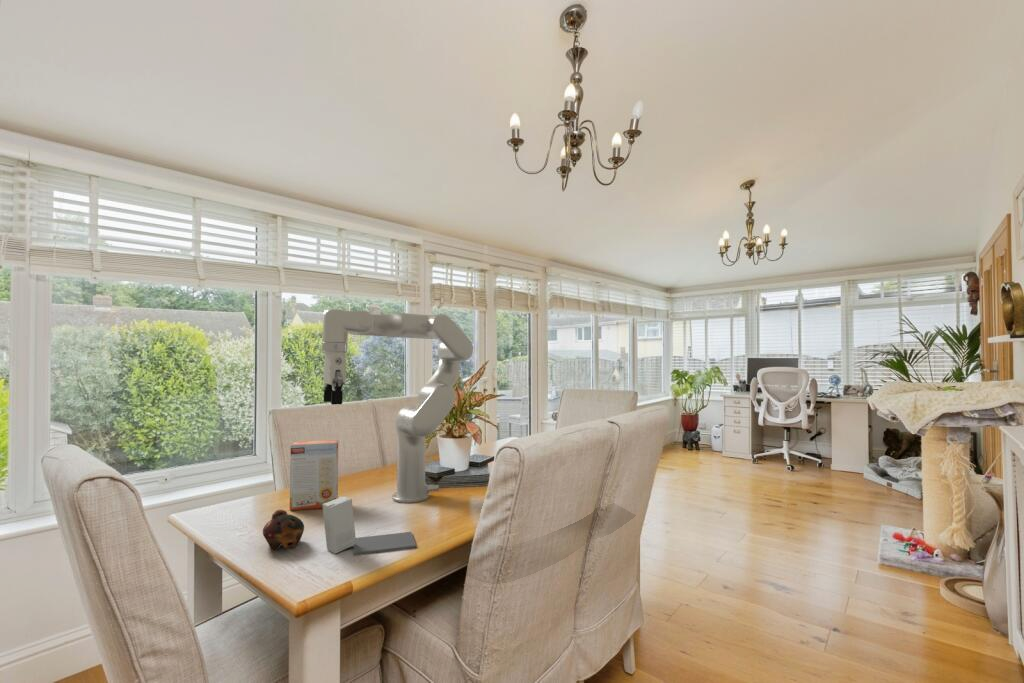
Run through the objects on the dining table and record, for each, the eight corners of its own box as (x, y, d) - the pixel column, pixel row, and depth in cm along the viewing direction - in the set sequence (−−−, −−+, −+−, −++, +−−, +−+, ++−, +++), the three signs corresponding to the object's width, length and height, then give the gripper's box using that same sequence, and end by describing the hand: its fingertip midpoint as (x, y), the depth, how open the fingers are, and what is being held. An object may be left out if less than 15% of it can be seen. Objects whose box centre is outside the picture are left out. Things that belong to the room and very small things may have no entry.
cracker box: (338, 502, 158) (339, 439, 159) (335, 507, 152) (337, 442, 153) (292, 505, 155) (294, 440, 156) (288, 511, 149) (290, 444, 150)
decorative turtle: (292, 533, 130) (295, 504, 131) (312, 553, 119) (315, 521, 119) (253, 540, 124) (256, 509, 124) (270, 562, 113) (274, 529, 113)
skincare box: (347, 540, 124) (343, 495, 123) (357, 544, 121) (353, 498, 120) (325, 550, 119) (321, 503, 118) (335, 555, 116) (330, 506, 115)
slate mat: (411, 533, 130) (411, 531, 130) (415, 547, 121) (415, 545, 121) (353, 540, 125) (353, 538, 125) (353, 555, 116) (353, 552, 116)
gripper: (354, 348, 144) (352, 405, 144) (339, 349, 159) (337, 400, 158) (329, 347, 140) (326, 405, 139) (316, 348, 154) (314, 401, 154)
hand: (332, 403), depth 149 cm, fingers open, 9 cm apart
